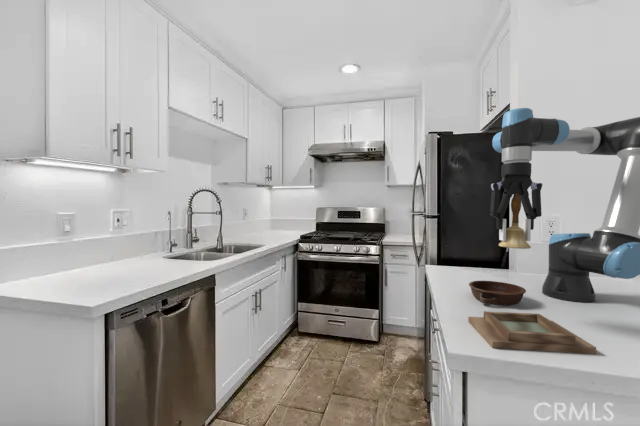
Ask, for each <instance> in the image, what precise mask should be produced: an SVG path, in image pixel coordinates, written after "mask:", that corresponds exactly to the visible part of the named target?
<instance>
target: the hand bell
mask: <svg viewBox="0 0 640 426" xmlns="http://www.w3.org/2000/svg"><path fill="white" fill-rule="evenodd" d="M511 198H512V199H511V200H510V201H511V202H510V208H511V209H510V210H511V213H512V218H511V226H510V227H506V241H502V240H501V241H500V242H499V243H498V246H499V247H501V248H508V249H509V248H510V249H519V250H524V249H525V250H528V249H531V248H532V246H531V245H530V244H529V243H528V241H526V240H525V236H524V230H523V228H521V227H520V226H519V223H520V222H519V219H520V218H519V214H520V212H521V208H522V202H521V199H520V196H519V194H513V195H512V197H511Z"/></svg>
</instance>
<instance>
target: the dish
mask: <svg viewBox="0 0 640 426" xmlns="http://www.w3.org/2000/svg"><path fill="white" fill-rule="evenodd" d="M468 286H469V287H470V290H471V293H472V296H473V297H474V298H475V299H476V300H478V301H480V302H481V304H484V305H494V306H495V305H496V306H515V305H517V304H520V302H521V301H522V299H523V297H524V295H525V293H526V292H527V290H526V289H525V288H524V287H522V286H520V285H517V284H514V283H509V282H502V281H495V280H473V281H471V282H469V283H468Z"/></svg>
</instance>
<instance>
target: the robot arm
mask: <svg viewBox="0 0 640 426" xmlns="http://www.w3.org/2000/svg"><path fill="white" fill-rule="evenodd" d="M501 124H502V125H501V131H500V132H497V133H495V135H493V138H492V140H491V141H492V142H491V145H492V148H493V149H494V151H495V152H497V153H500V154H501V163H502V165H501V172H500V173H501V174H500V176H501V179H500V181H499V182H496V183H490V185H489V186H490V191H491V195H490V207H489V216H491V217H493V218H495V219H496V222H495V224H496V225H495V226H496V230H499V231H498V237H499V238H498V239H499V241H501V242H502V241H506V229H507V218H504V217H505V215H506V212H507V209H508V207H509V204H510V201H511V198H513V196H514V194H519V196H520V199H521V206H522V208H523V211H524V214H525V217H526V218H523V219H522V220H523V221H522V229H523V230H524V236H525V240H526V242H531V234H532V233H531V231H533V230H534V226H535V225H534V223H535V219H537V218H539V217H542V196H541V190H542V188H543V183H541V182H536V181H535V182H534V181H533V180H532V178H531V177H532V163H531V161H532V159H533V158H532V157H533V155H532V154H533V152H576V153H578V154H581V155H592V156H593V155H594V156H595V155H596V156H597V155H599V156H617V157H618V158H619V159H620V163H619V167H618V170H617V173H616V177H615V181H614V183H613V187H612V191H611V194H610V196H609V197H610V198H609V201H608V204H607V208H606V211H605V214H604V218H603V220H602V221H603V222H602V225H601V227H599V228H596V229H595V230H594V231H593V233H592V236H591V233H589V232H588V233H587V232H586V233H585V232H578V233H576V232H575V233H574V232H573V233H554V234H552V235H550V237H549V242H548V270H547V271H548V273H547V276H546V277H545V280H544V282H543V284H542V289H541V290H542V294H544V295H545V296H548V297H551V298H554V299H558V300H562V301H567V302H568V301H570V302H576V303H577V302H579V303H589V302H590V303H592V302H594V301H596V292H595V290H594V287H593V285H592V282H591V280H590V279H591V278H590V273H592V274H598V275H602V276H606V277H610V278H612V279H613V278H614V279H615V278H617V279H624V280H630V279H633V278H634V279H635V278H636V277H637V276H640V235H639V230H640V116H637V117H632V118H629V119H628V118H627V119H624V120H619V121H615V122H611V123H606V124H603V125H599V126H598V125H597V126H587V127H583V128H581V129H570V126H569V123H568V122H567V121H566V120H563V119H559V118H542V117H541V118H539V117H534V113H533V109H532V108H530V107H529V108H528V107H519V108H514V109H510V110H508V111H506V112H504V114H503V116H502V123H501ZM501 188H502V190H503V193H502V198H501V201H500V203H499V200H500V190H501ZM529 189H531V200H530V197H529V196H530V193H529Z"/></svg>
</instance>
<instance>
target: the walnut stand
mask: <svg viewBox="0 0 640 426" xmlns="http://www.w3.org/2000/svg"><path fill="white" fill-rule="evenodd" d="M467 320H468V323H469V325H471V327H472V328H473V329H474V330H475V331H476V332H477V333H478V334H479V335H480V336H481V337H482V338H483V339H484V341H485V342H486V343H487V344H488V345H489V347H491V348H492V349H502V350H503V349H506V350H519V351H520V350H523V351H524V350H525V351H539V352H556V353H570V354H571V353H572V354H587V353H588V354H589V355H596V354H597V347H596V346H594V345H593V344H591V343H590V342H588V341H586V340H585V339H583V338H581V337H580V336H578V335H577V334H575V333H574V332H571V330H568V329H566V328H565V327H564V326H561V325H560V324H558V323H557V322H555V321H553V320H550V319H549V318H547V317H546V316H544V315H542V314H541V313H530V312H527V313H526V312H508V311H506V312H504V311H486V310H485V311H483V316H468V319H467Z"/></svg>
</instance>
